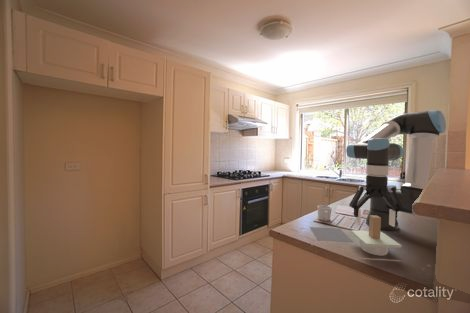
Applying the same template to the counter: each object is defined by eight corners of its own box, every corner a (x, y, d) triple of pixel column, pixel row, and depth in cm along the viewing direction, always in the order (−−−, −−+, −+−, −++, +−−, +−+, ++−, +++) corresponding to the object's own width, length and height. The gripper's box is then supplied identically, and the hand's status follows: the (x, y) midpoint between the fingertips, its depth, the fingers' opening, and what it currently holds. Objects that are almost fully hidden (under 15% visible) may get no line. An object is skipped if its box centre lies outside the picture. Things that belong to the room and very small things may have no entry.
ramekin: (356, 243, 98) (357, 232, 97) (385, 247, 93) (385, 236, 93) (360, 254, 87) (361, 242, 87) (393, 260, 83) (394, 247, 83)
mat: (339, 229, 113) (340, 228, 113) (353, 243, 97) (353, 242, 97) (309, 227, 115) (309, 227, 115) (317, 241, 99) (317, 240, 99)
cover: (381, 233, 96) (382, 212, 95) (401, 247, 83) (402, 222, 82) (350, 232, 97) (351, 211, 96) (366, 246, 84) (367, 221, 83)
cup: (333, 224, 120) (334, 210, 120) (319, 223, 122) (319, 209, 122) (329, 218, 131) (329, 205, 131) (315, 217, 133) (316, 204, 132)
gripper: (402, 174, 90) (400, 222, 92) (342, 173, 93) (340, 220, 94) (415, 177, 83) (412, 229, 84) (349, 175, 86) (347, 226, 87)
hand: (374, 224), depth 89 cm, fingers open, 13 cm apart
